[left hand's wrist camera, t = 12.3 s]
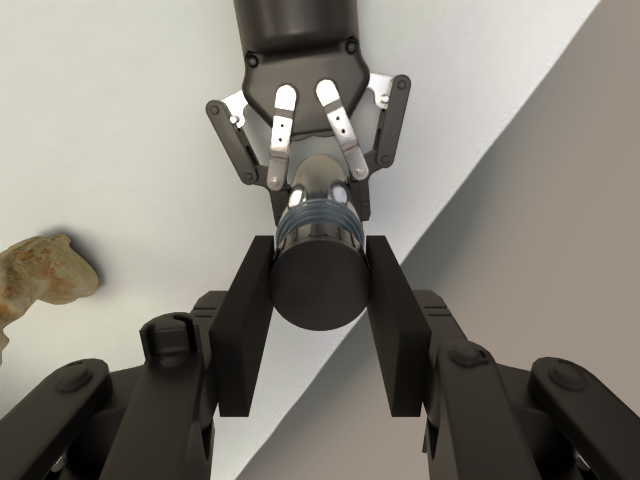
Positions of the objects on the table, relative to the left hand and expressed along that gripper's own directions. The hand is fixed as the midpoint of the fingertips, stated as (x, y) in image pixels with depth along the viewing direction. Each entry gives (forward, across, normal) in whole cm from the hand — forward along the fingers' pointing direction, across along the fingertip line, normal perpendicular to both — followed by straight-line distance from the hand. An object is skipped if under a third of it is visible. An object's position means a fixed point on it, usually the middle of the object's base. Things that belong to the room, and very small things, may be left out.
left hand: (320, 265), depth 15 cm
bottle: (+18, 0, 0) cm, 18 cm away
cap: (-2, 0, 0) cm, 2 cm away
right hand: (+12, 0, -3) cm, 13 cm away
